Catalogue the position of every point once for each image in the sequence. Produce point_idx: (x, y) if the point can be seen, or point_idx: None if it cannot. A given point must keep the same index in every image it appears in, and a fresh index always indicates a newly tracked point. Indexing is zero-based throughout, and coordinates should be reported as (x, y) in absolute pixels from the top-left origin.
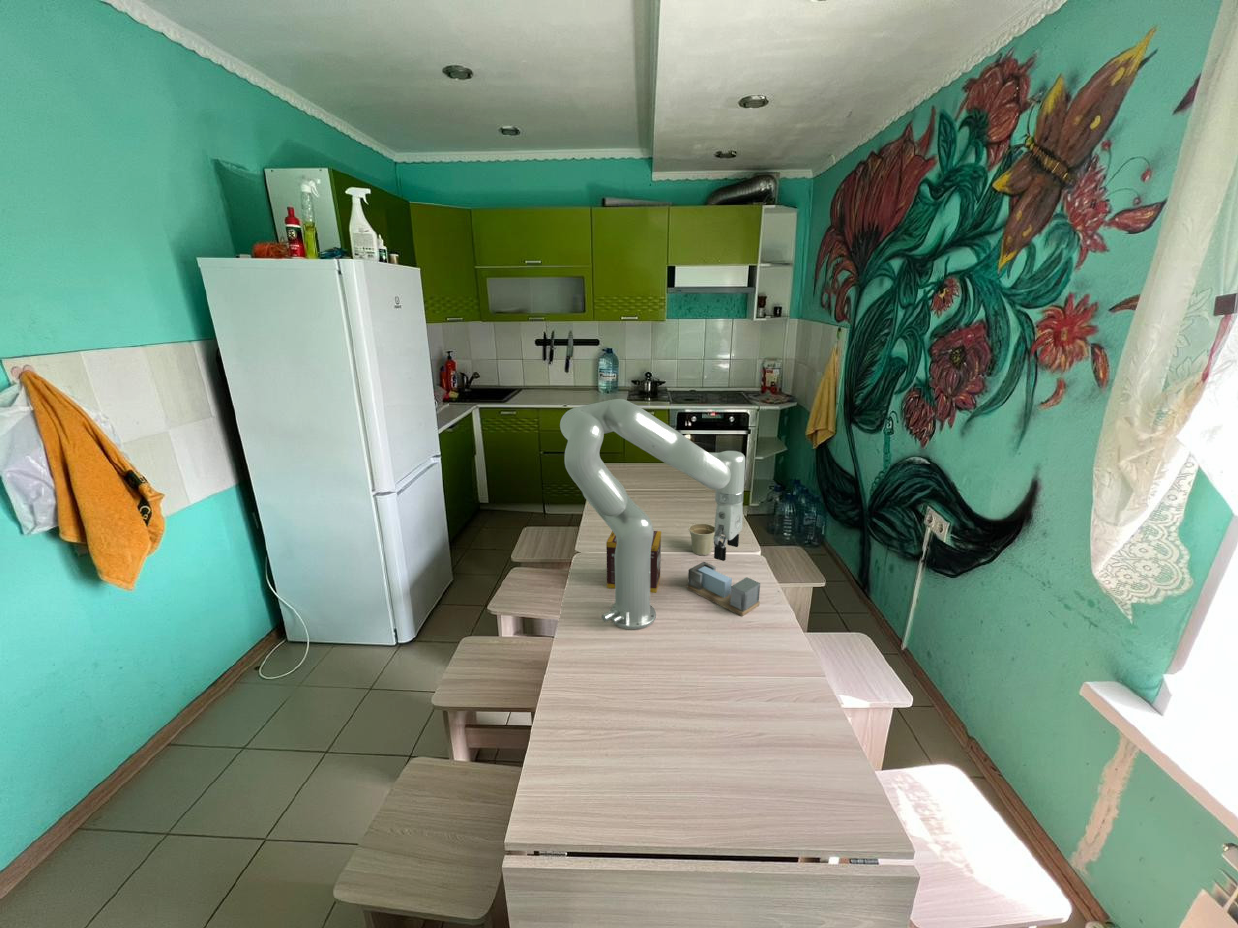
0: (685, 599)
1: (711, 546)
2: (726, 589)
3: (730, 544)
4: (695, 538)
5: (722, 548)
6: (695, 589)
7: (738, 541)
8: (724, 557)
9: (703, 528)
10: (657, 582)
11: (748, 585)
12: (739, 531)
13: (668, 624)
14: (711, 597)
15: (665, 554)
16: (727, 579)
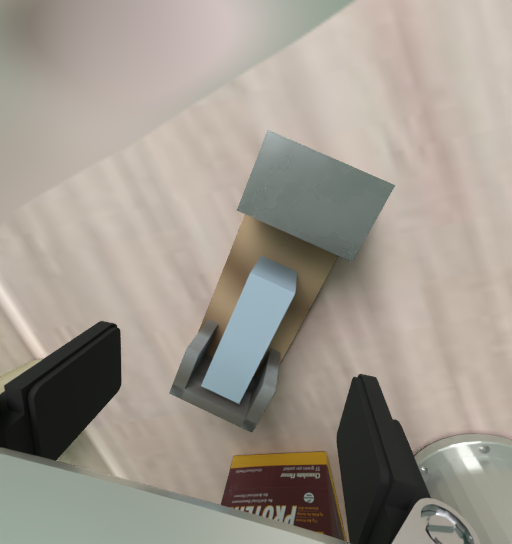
0: (330, 375)
1: (23, 370)
2: (285, 275)
3: (116, 374)
4: None
5: (413, 502)
6: (279, 364)
7: (75, 340)
8: (383, 398)
9: None
10: (306, 472)
11: (316, 183)
12: (21, 470)
13: (490, 394)
14: (308, 310)
15: (119, 461)
16: (266, 288)
